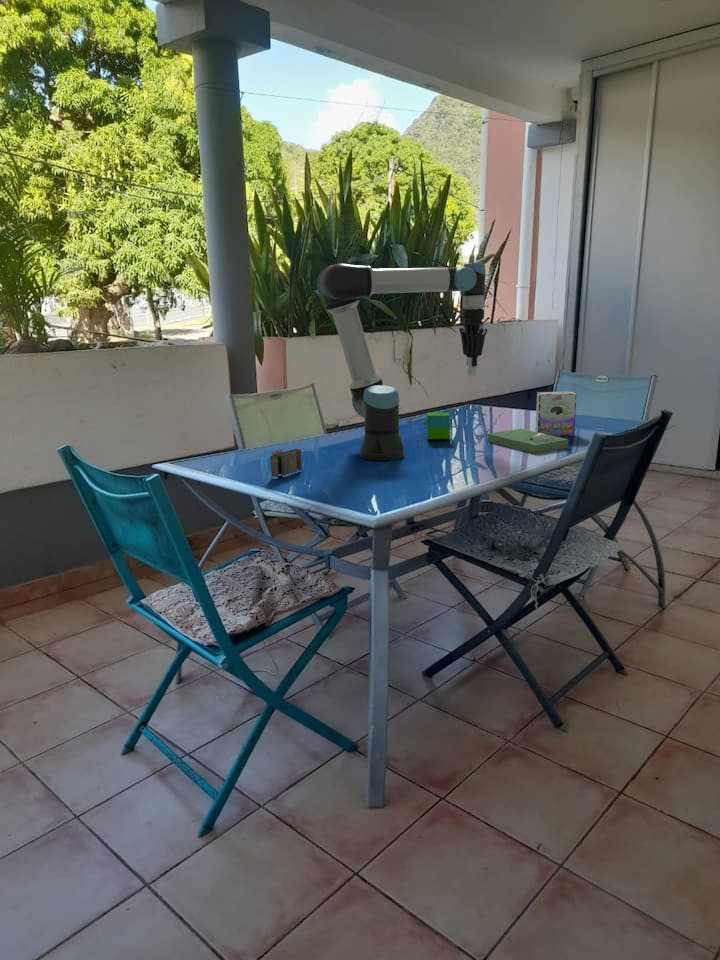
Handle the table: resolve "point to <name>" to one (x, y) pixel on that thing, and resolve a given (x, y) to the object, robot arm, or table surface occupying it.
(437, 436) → the green toy van
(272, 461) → the ruin model on sheet
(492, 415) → the table surface
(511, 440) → the putting mat
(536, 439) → the ball
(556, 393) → the candy box
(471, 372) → the robot arm
